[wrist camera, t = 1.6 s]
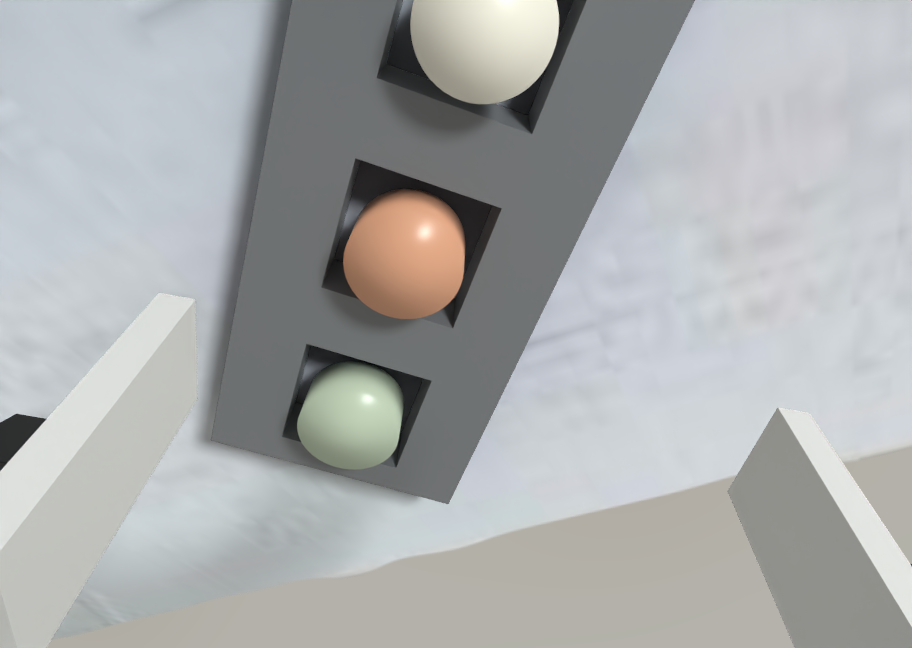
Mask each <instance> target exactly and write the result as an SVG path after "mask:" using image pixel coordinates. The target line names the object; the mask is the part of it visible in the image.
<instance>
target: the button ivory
mask: <svg viewBox="0 0 912 648" xmlns="http://www.w3.org/2000/svg"><path fill="white" fill-rule="evenodd" d="M410 25H411V38H412V44H413V47H414V51H415V54H416V56H417V59H418V61H419V63H420V65H421V67H422V69H423V70H424V72H425V73H426V75H427V76H428V77H429V79H430V80H431V81H432V82H433V83H434V84H435V85H436V86H437V87H438V88H440V89H441V90H442V91H443V92H445V93H447V94H448V95H450V96H452V97H454V98H456V99H458V100H461V101H464V102H468V103H473V104H493V103H499V102H502V101H506V100H508V99H511V98H513V97H515V96H517V95H519V94H520V93H522V92H523V91H525V90H526V89H527V88H529V87H530V86H531V85H532V84H533V83H534V82H535V81H536V80H537V79H538V78H539V77H540V75H541V74H542V73H543V72H544V70H545V68H546V67H547V65H548V63H549V61H550V59H551V57H552V55H553V52H554V49H555V46H556V42H557V37H558V30H559V12H558V6H557V1H556V0H414V1H413V6H412V11H411V21H410Z"/></svg>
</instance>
